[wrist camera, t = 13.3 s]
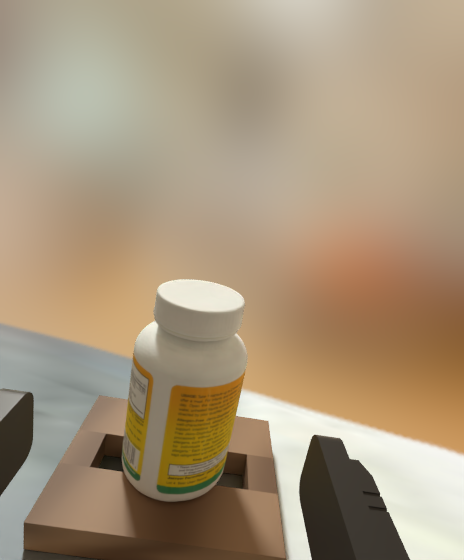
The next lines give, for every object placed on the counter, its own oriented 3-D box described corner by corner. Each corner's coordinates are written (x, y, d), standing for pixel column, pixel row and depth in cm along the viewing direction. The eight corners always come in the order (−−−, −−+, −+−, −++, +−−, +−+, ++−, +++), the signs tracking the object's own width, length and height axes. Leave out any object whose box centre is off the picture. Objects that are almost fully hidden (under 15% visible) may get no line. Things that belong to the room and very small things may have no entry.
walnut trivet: (23, 548, 16) (24, 522, 15) (97, 415, 24) (99, 395, 24) (278, 583, 16) (285, 558, 16) (263, 439, 24) (268, 421, 24)
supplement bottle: (98, 476, 18) (113, 291, 15) (157, 415, 23) (177, 267, 20) (197, 527, 16) (235, 331, 13) (238, 450, 21) (272, 294, 18)
